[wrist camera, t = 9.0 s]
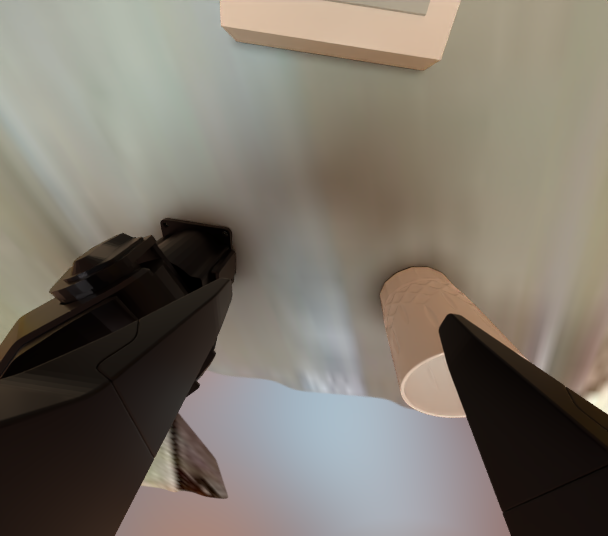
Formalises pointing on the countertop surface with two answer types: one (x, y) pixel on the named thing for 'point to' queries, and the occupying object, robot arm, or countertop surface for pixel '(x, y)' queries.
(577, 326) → the countertop surface
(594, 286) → the countertop surface
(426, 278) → the beige textured cup
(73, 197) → the countertop surface
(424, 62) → the base
